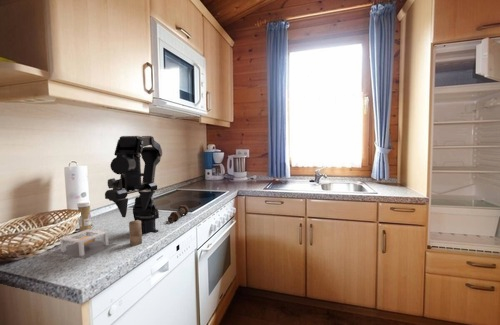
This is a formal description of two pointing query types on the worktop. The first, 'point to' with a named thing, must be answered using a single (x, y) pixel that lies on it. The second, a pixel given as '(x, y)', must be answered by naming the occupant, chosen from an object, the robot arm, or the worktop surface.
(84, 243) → the orange square block
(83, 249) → the white mini table
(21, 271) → the worktop surface
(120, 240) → the worktop surface
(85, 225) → the sprinkles bottle
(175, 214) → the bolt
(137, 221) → the walnut cylinder
